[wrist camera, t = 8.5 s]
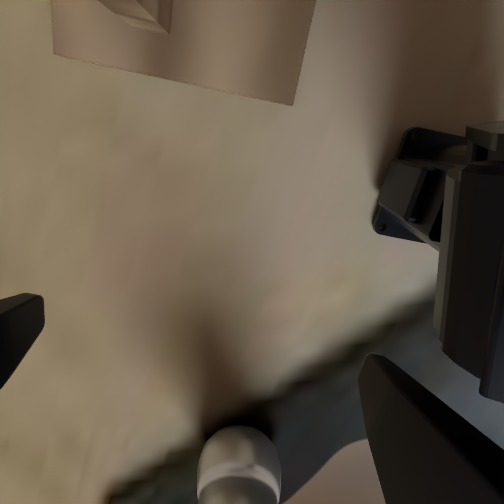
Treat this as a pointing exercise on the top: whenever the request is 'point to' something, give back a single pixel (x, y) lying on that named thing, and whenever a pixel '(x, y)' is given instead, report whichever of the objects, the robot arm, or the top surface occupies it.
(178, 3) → the bearing stand
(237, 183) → the top surface
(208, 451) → the plastic bottle
